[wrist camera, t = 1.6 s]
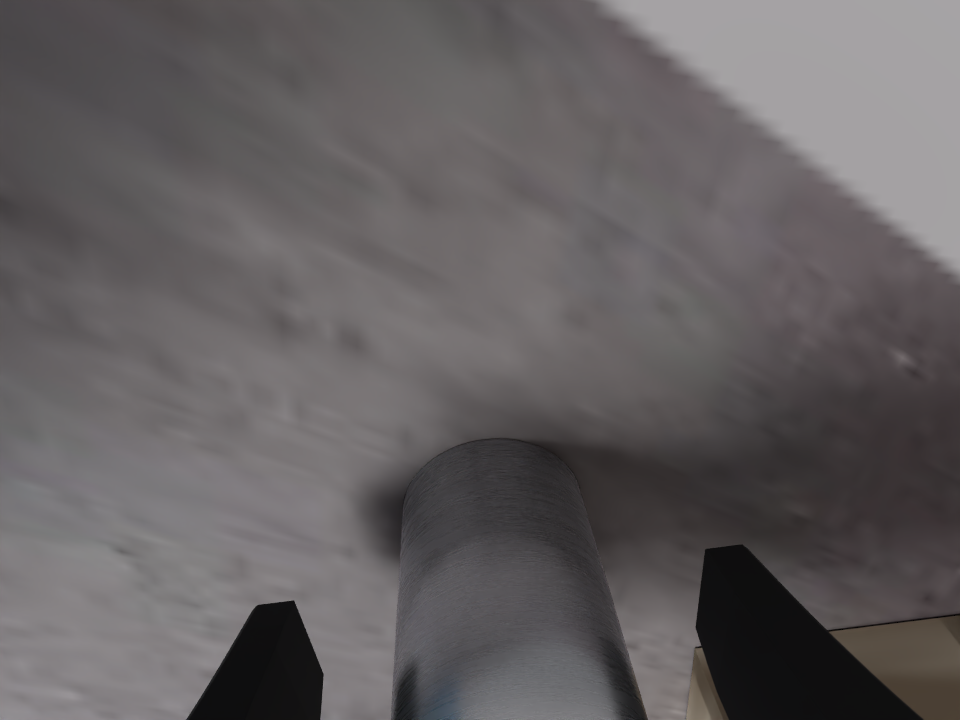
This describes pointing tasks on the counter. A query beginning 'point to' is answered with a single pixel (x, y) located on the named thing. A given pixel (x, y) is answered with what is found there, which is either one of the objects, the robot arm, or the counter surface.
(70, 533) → the counter surface
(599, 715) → the grey peg
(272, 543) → the counter surface
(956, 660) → the socket block
